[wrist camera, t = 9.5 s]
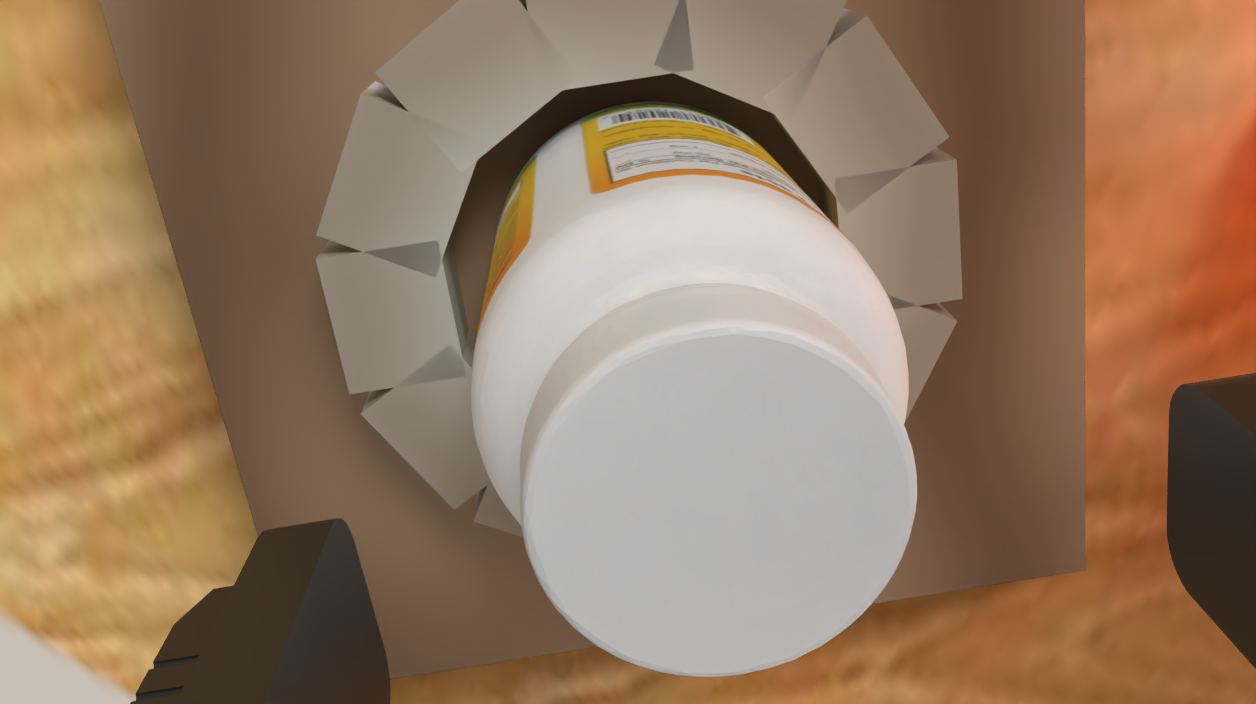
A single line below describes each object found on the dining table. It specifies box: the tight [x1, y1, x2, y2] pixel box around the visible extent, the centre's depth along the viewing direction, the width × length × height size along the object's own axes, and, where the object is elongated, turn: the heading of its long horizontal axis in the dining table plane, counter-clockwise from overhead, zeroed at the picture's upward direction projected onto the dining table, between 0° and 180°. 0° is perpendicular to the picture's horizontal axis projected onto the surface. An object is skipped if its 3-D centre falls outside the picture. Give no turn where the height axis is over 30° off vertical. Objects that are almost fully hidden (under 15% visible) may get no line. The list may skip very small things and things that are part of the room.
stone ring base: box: [99, 0, 1085, 679], centre depth 21 cm, size 16×16×4 cm
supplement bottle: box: [471, 101, 917, 677], centre depth 16 cm, size 5×5×10 cm
